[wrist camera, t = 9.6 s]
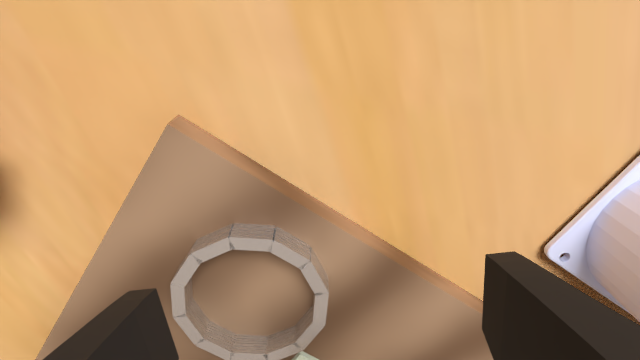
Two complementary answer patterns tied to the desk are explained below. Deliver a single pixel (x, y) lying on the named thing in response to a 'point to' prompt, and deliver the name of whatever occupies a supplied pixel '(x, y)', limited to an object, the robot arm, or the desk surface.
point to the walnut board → (267, 264)
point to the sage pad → (304, 356)
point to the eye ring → (249, 350)
